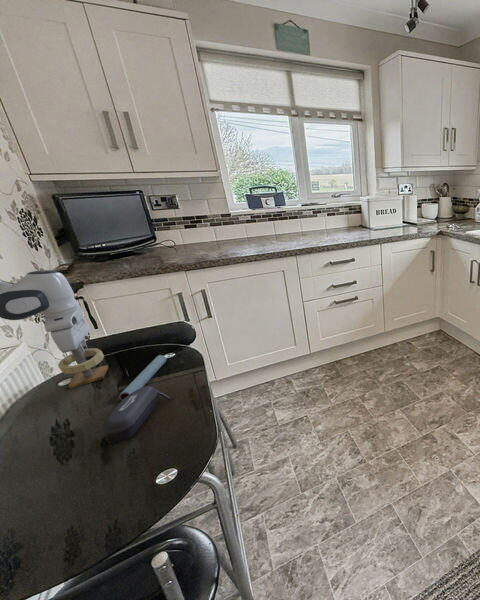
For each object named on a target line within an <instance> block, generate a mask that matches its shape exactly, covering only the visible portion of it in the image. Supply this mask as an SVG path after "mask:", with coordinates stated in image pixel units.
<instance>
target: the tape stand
mask: <svg viewBox="0 0 480 600" xmlns="http://www.w3.org/2000/svg"><path fill="white" fill-rule="evenodd" d="M70 353H71V354H73V356H74V358H75V360H76V361H75V362H76V365H77V364H81V363H84V362H86V361H88V360H87V358H86V357H85V356H84V354H83V352H82V350H81V348H80V346H79V347H78V348H77V349H76V350H74V351H70ZM108 369H109V365H108V364H106V365H102V366H98V367H93V368H90V369H88V370H85V371H82V372H78V373H74V375H73V376H72V378H71V380H70V382H69V383H68V385H67V388H68V389H73V388H75V387H79V386H84V385H86V384H89V383H93V382H96V381H100V380H103V379H104V378H105V376H106V374H107V372H108Z"/></svg>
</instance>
